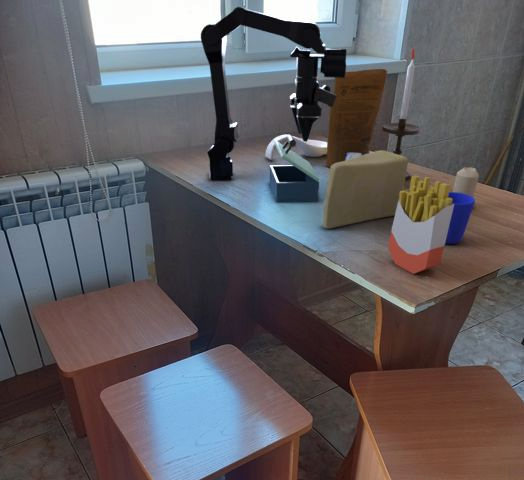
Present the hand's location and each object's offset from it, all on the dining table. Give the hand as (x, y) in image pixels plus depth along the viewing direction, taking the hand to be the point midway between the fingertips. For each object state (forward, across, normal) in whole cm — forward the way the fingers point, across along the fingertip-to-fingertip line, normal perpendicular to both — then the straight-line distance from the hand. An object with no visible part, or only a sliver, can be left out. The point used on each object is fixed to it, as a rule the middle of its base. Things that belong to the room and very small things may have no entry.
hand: (302, 137), depth 147 cm
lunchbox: (+12, -10, +4) cm, 16 cm away
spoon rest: (+13, +27, -4) cm, 30 cm away
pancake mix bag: (+12, +16, -19) cm, 28 cm away
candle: (+12, -23, -41) cm, 48 cm away
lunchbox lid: (+4, -10, +3) cm, 11 cm away
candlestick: (+12, +4, -30) cm, 33 cm away
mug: (+12, -46, -26) cm, 54 cm away
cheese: (+12, -32, -10) cm, 36 cm away
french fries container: (+12, -59, -15) cm, 62 cm away
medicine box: (+13, -6, -14) cm, 20 cm away
